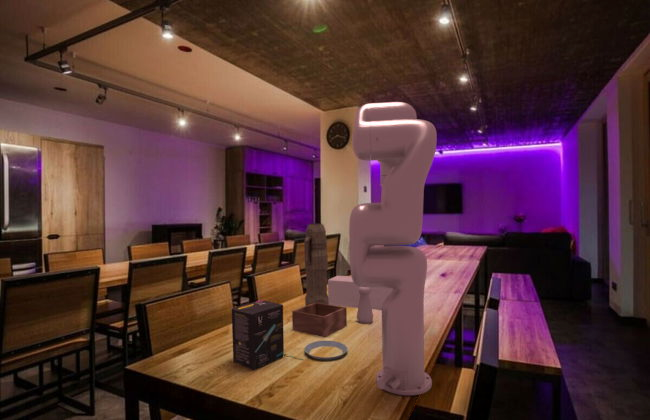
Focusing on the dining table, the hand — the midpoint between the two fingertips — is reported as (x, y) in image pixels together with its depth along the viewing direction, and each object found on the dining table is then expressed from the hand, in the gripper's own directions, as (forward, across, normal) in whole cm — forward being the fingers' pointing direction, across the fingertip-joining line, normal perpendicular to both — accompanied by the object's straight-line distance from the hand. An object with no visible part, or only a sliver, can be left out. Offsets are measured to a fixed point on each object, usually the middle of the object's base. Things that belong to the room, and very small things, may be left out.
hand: (392, 232), depth 120 cm
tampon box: (+33, -41, +23) cm, 57 cm away
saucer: (+33, -30, +8) cm, 45 cm away
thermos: (+32, +2, +32) cm, 46 cm away
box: (+32, -13, +21) cm, 41 cm away
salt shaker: (+32, +1, +11) cm, 34 cm away
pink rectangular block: (+33, +23, +21) cm, 45 cm away
